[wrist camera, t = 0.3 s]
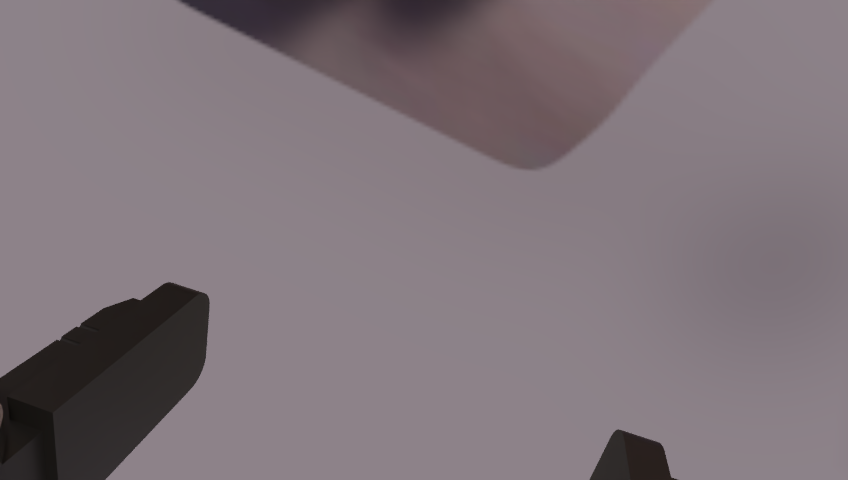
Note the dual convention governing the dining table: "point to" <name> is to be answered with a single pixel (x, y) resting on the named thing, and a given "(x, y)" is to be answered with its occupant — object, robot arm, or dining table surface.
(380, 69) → the dining table surface
